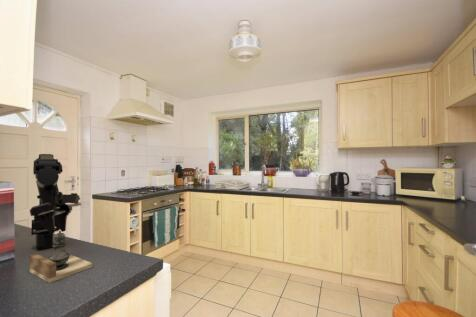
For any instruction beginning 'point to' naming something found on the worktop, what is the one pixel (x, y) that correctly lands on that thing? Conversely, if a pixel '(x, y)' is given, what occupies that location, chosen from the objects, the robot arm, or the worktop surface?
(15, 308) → the worktop surface
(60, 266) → the grey tall rounded piece
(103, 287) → the worktop surface
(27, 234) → the worktop surface
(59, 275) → the board
